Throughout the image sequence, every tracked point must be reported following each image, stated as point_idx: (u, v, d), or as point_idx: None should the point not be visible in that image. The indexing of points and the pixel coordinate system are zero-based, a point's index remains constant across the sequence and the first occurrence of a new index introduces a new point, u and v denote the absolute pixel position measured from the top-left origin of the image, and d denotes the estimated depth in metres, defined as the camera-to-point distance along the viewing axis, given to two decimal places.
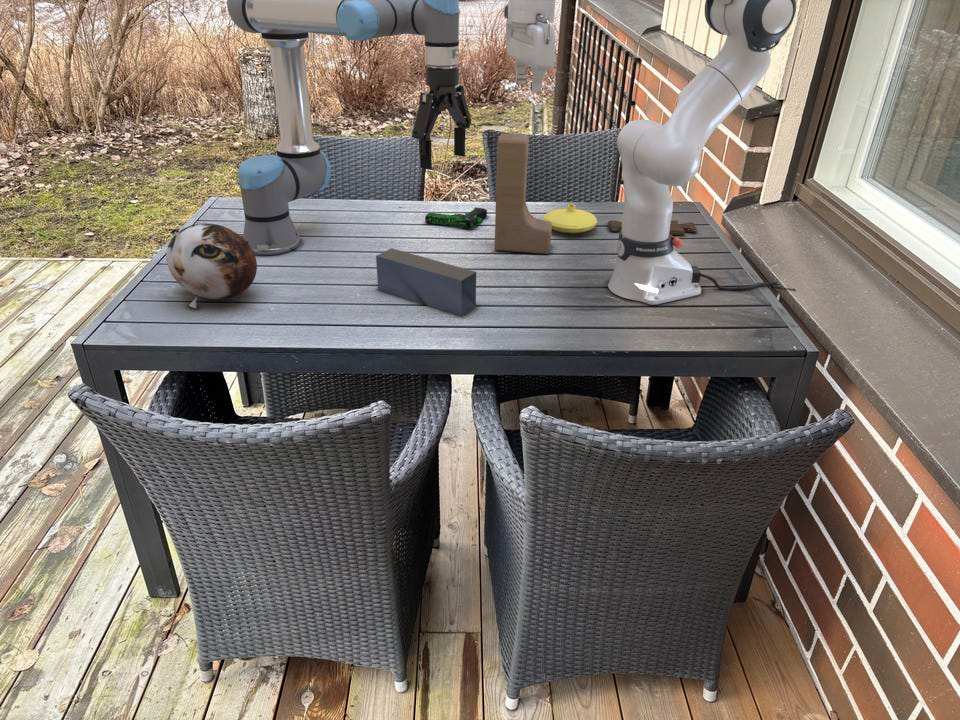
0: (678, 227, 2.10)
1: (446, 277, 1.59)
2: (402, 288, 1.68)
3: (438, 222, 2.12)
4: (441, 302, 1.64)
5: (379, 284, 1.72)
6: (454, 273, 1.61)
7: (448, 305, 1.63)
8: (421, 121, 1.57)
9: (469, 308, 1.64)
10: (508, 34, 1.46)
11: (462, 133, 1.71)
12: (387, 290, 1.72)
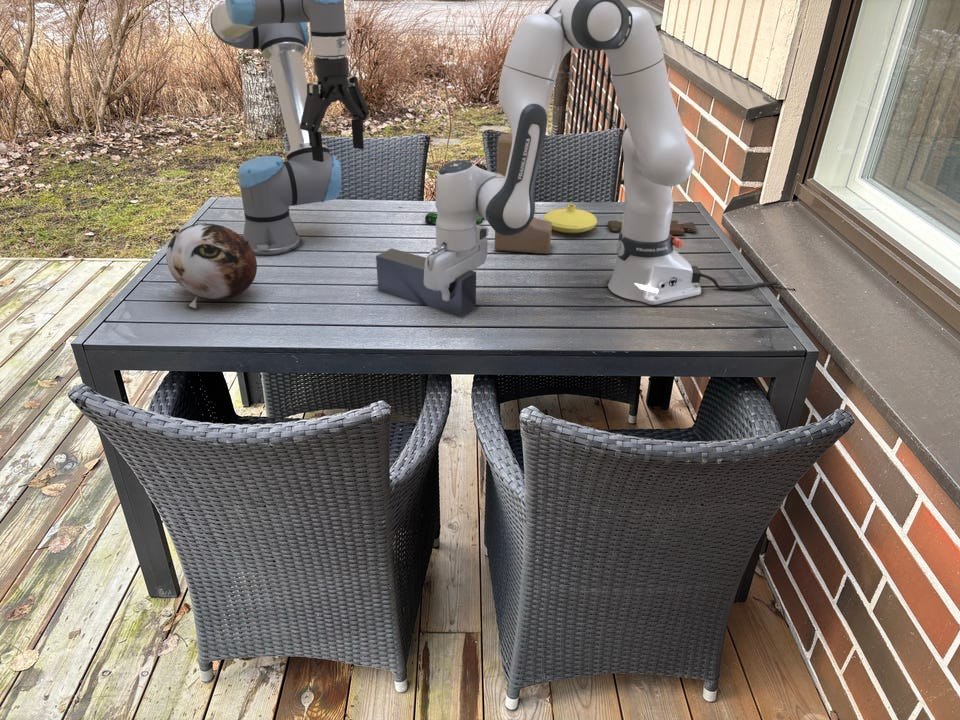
0: (678, 227, 2.10)
1: None
2: (402, 288, 1.68)
3: None
4: (441, 302, 1.64)
5: (379, 284, 1.72)
6: None
7: (448, 305, 1.63)
8: (308, 112, 1.55)
9: (469, 308, 1.64)
10: None
11: (359, 125, 1.68)
12: (387, 290, 1.72)
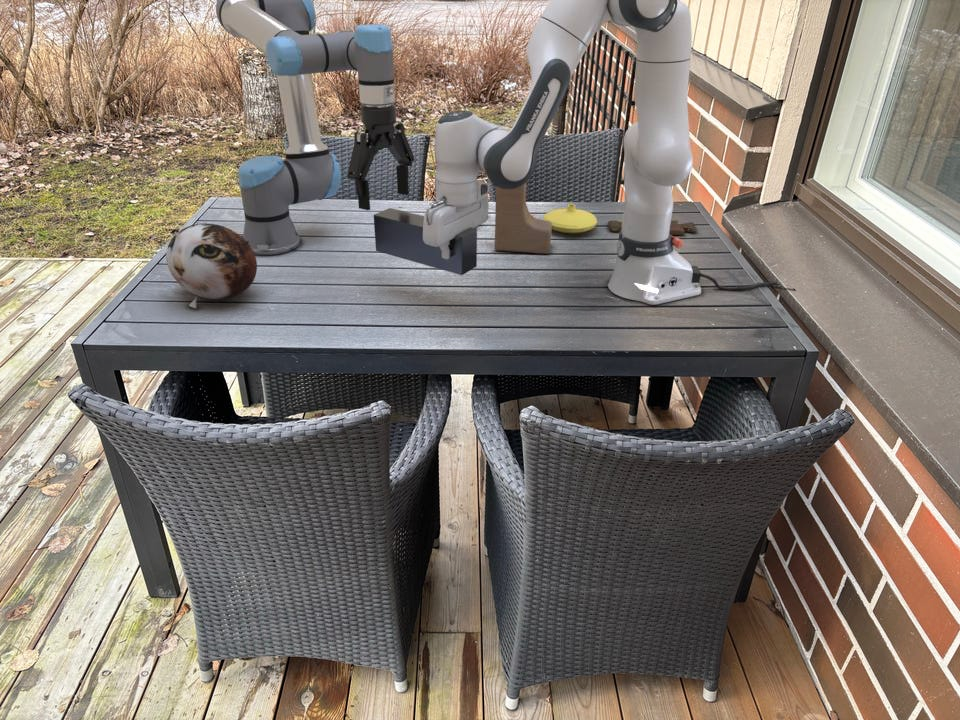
0: (678, 227, 2.10)
1: None
2: (401, 248, 1.63)
3: None
4: (441, 261, 1.58)
5: (377, 245, 1.67)
6: None
7: (448, 264, 1.57)
8: (356, 161, 1.52)
9: (470, 267, 1.59)
10: None
11: (404, 171, 1.65)
12: (385, 250, 1.66)
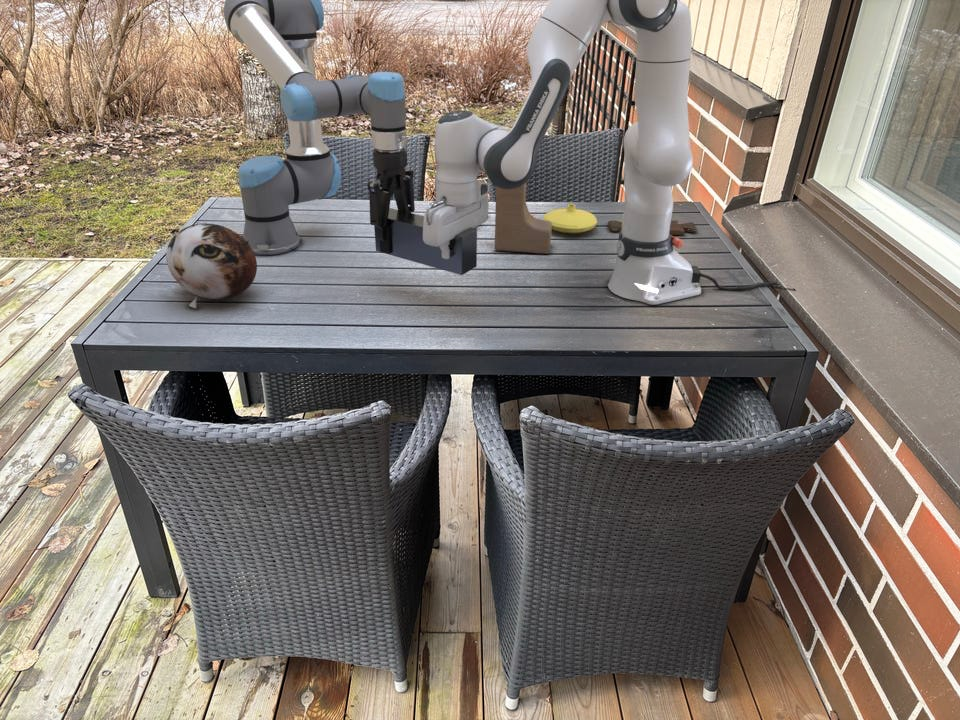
0: (678, 227, 2.10)
1: None
2: (401, 248, 1.63)
3: None
4: (441, 261, 1.58)
5: (377, 245, 1.67)
6: None
7: (448, 264, 1.57)
8: (375, 210, 1.58)
9: (470, 267, 1.59)
10: None
11: None
12: None
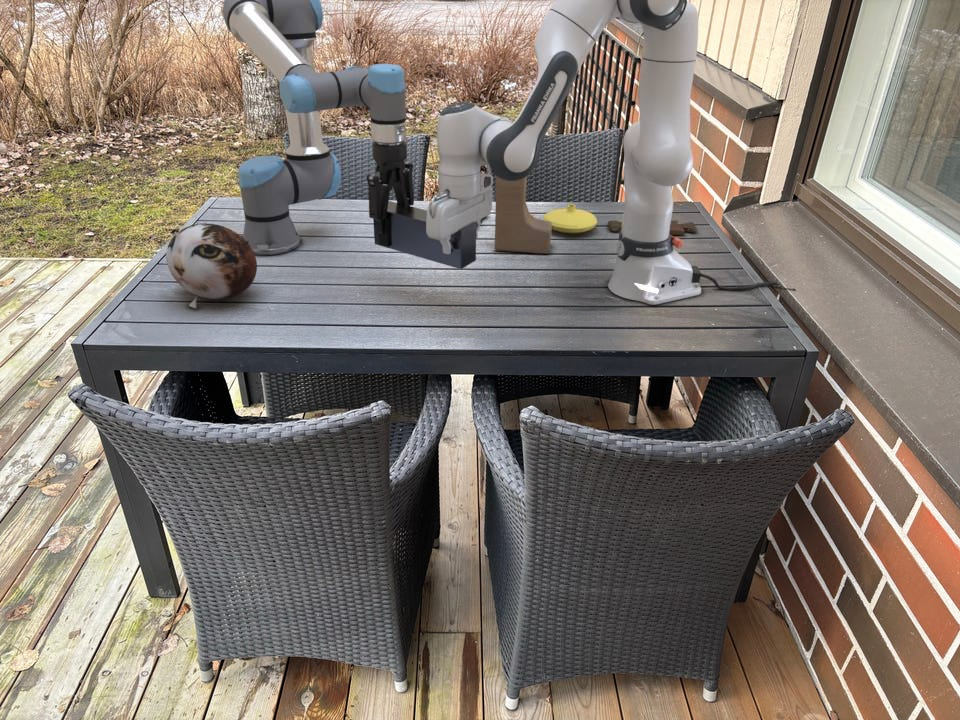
0: (678, 227, 2.10)
1: None
2: (400, 241, 1.63)
3: None
4: (440, 255, 1.58)
5: (376, 238, 1.66)
6: None
7: (447, 258, 1.57)
8: (374, 203, 1.57)
9: (469, 261, 1.58)
10: None
11: None
12: None
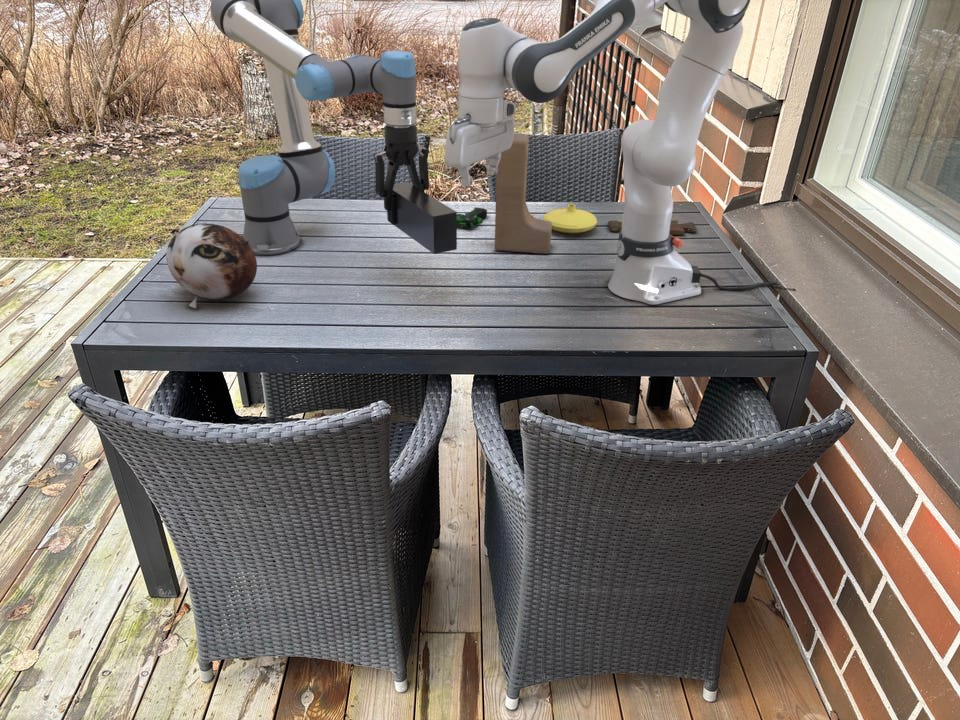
0: (678, 227, 2.10)
1: (424, 211, 1.59)
2: (400, 220, 1.71)
3: None
4: (422, 238, 1.63)
5: None
6: (435, 209, 1.59)
7: (426, 241, 1.62)
8: (378, 180, 1.68)
9: (446, 248, 1.61)
10: None
11: None
12: None
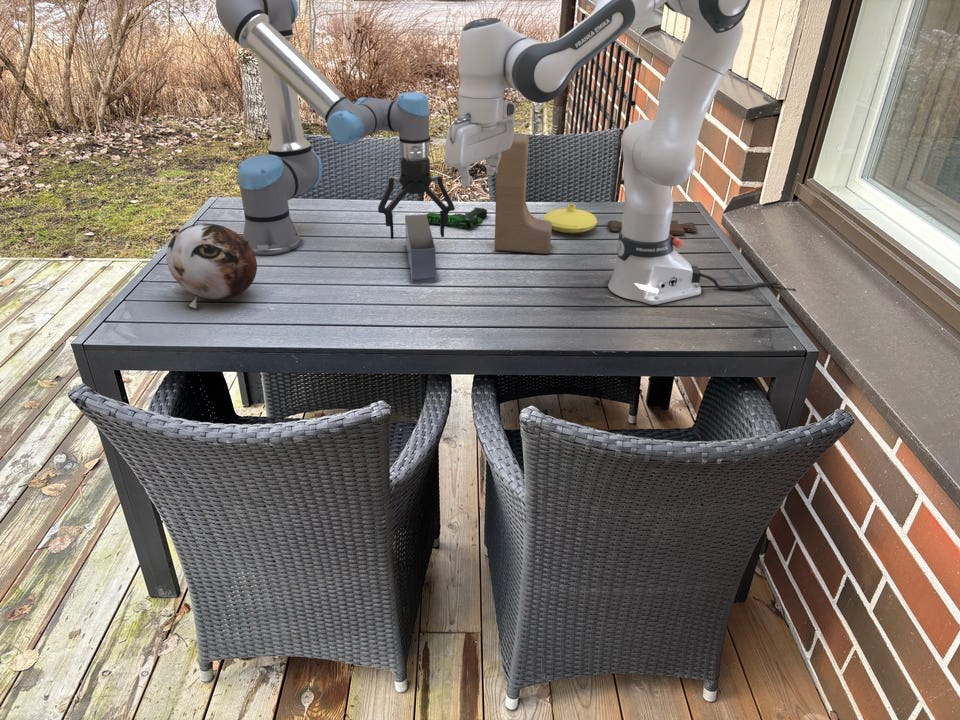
0: (678, 227, 2.10)
1: (409, 244, 1.76)
2: (407, 248, 1.90)
3: (438, 222, 2.12)
4: (410, 267, 1.81)
5: None
6: (419, 243, 1.76)
7: None
8: (383, 198, 1.86)
9: (425, 279, 1.77)
10: None
11: (441, 217, 1.90)
12: (406, 247, 1.95)
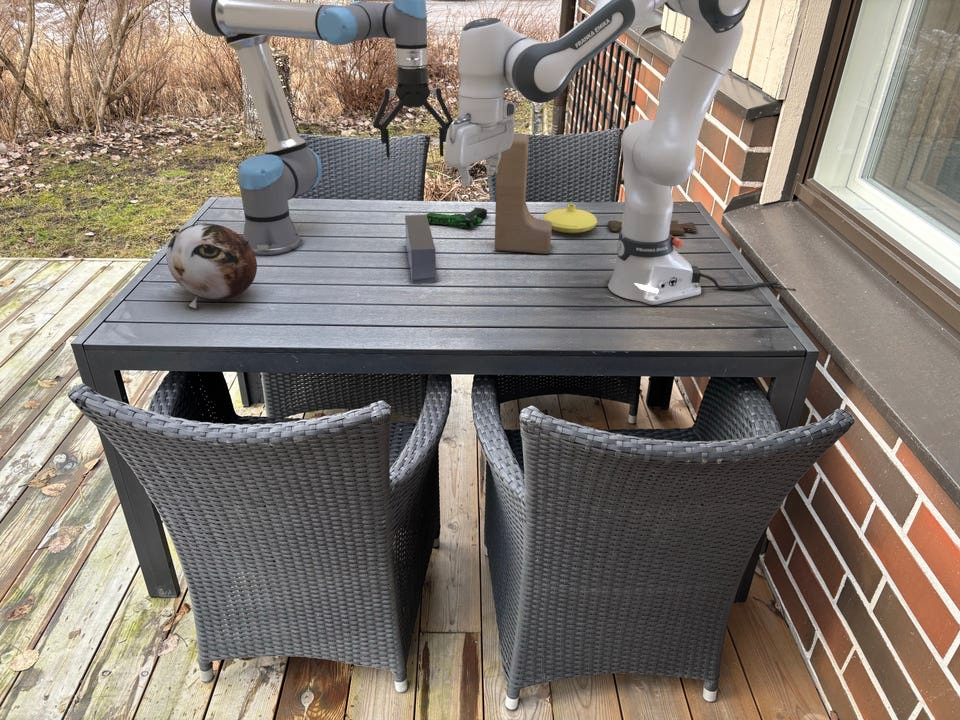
0: (678, 227, 2.10)
1: (409, 244, 1.76)
2: (407, 248, 1.90)
3: (438, 222, 2.12)
4: (410, 267, 1.81)
5: None
6: (419, 243, 1.76)
7: None
8: (378, 112, 1.75)
9: (425, 279, 1.77)
10: None
11: (440, 133, 1.79)
12: (406, 247, 1.95)
